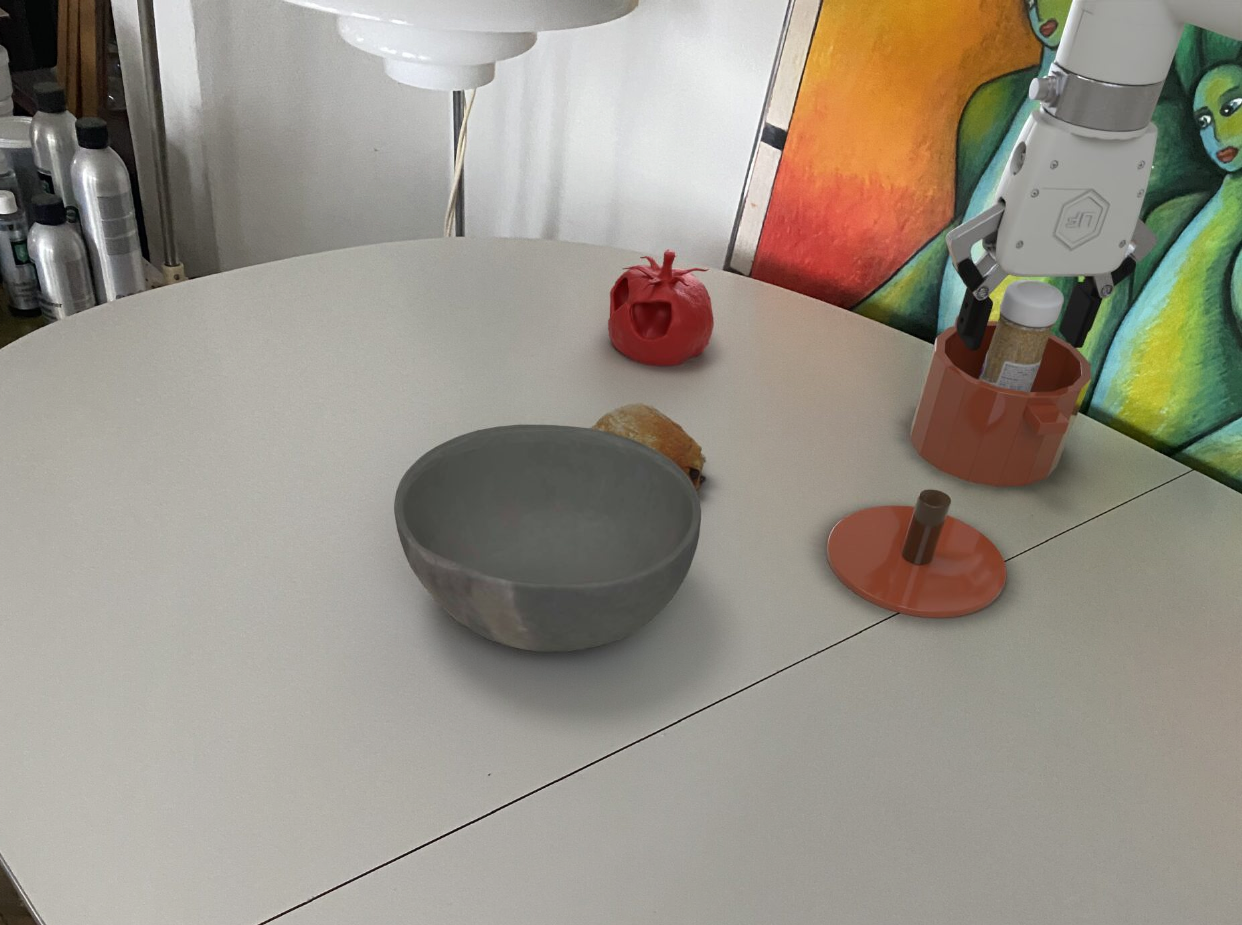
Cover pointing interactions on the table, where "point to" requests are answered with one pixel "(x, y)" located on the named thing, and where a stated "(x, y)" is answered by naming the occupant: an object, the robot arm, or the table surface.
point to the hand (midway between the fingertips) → (1019, 340)
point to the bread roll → (656, 436)
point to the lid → (917, 559)
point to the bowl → (548, 533)
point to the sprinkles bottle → (1021, 334)
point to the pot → (997, 413)
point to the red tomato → (660, 313)
